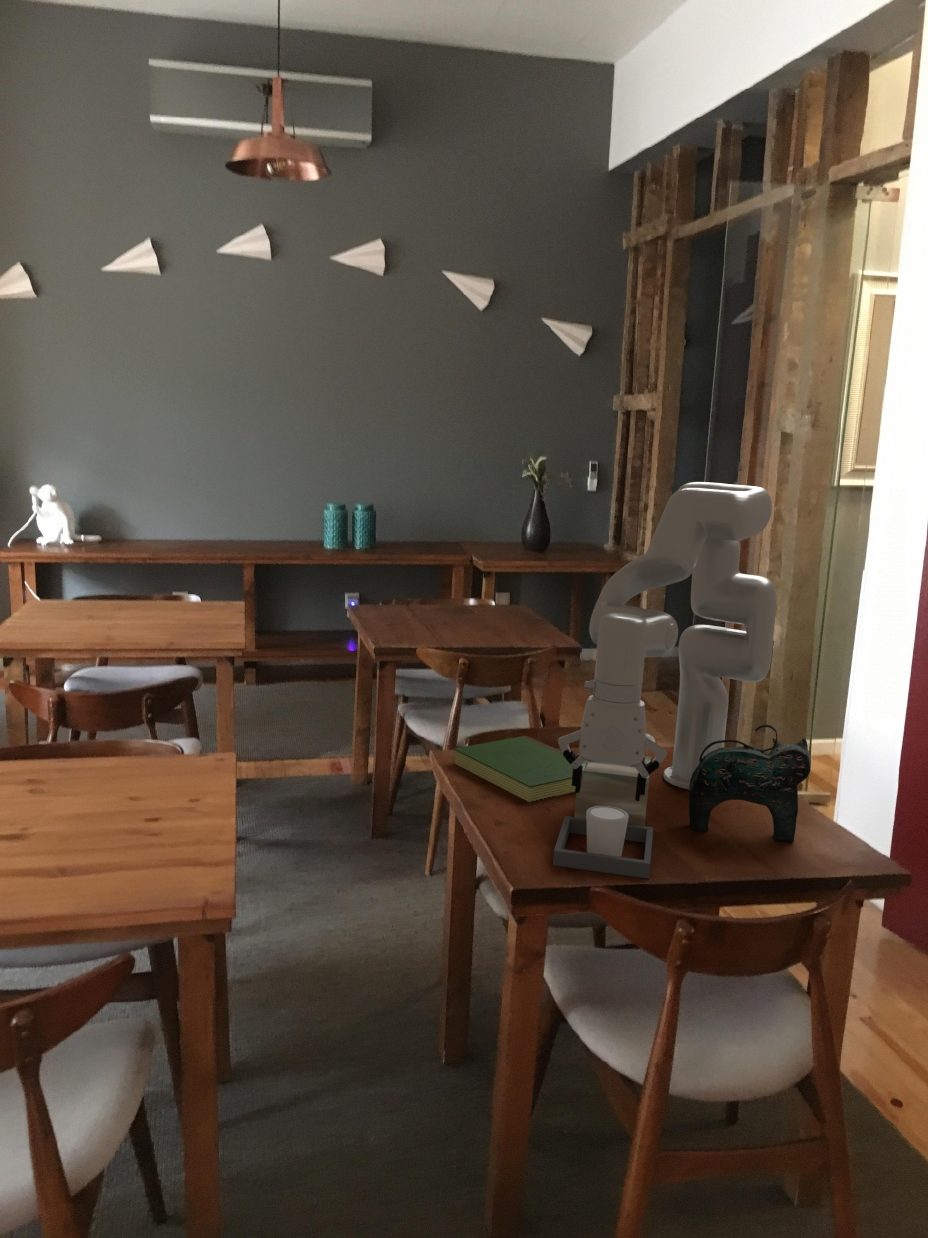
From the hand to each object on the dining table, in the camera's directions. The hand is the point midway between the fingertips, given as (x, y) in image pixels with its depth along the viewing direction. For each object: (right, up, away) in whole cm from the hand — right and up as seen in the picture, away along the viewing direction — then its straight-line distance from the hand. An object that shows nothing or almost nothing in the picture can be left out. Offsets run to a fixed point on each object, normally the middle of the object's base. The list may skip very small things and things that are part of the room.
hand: (607, 794), depth 164 cm
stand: (+3, -7, +17) cm, 19 cm away
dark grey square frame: (0, -10, +2) cm, 10 cm away
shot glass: (0, -10, +3) cm, 11 cm away
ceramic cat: (+26, -9, +13) cm, 30 cm away
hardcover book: (-11, -3, +38) cm, 40 cm away
